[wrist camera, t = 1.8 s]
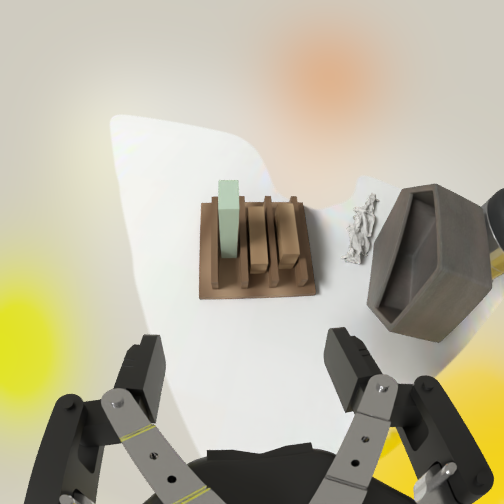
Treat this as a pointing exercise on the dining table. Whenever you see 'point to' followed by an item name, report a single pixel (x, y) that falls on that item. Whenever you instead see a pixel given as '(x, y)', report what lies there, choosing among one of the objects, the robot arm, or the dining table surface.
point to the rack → (237, 269)
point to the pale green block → (228, 217)
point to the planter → (429, 263)
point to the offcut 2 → (286, 236)
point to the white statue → (361, 231)
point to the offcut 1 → (257, 240)
